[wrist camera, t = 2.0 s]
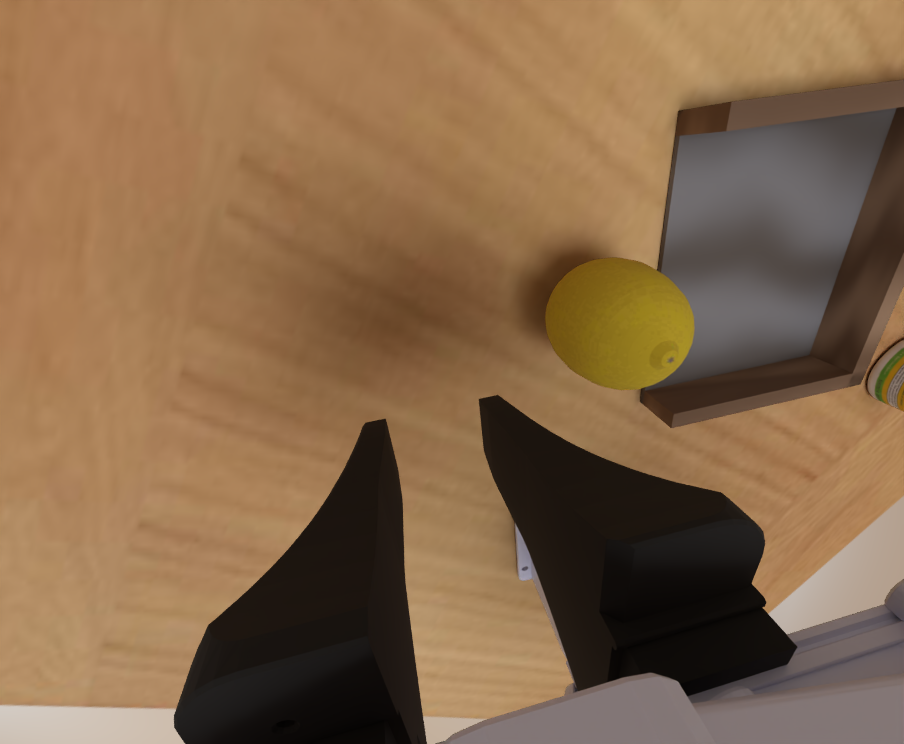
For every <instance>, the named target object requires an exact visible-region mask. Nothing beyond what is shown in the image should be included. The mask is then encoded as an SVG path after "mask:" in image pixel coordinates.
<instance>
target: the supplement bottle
mask: <svg viewBox="0 0 904 744" xmlns="http://www.w3.org/2000/svg"><path fill="white" fill-rule="evenodd" d="M868 391H869V393H870V394H871V396H872V397H874V398H875V399H877V400H880V401H882V402H884V403H886V404H888V405H890V406H892V407H895V408H897V409H899V410H901V411H904V340H902V341H900V342H899V343H897V344H896V345H895V346H893V347H892V348H891V349H889V350H888V351H887V352H886V353H885V354H884V355H883V356H882V357H881V358H880V359H879V361H878V362H877V363H876V364H875V366H874V367H873V369H872V371H871V373H870V375H869V378H868Z"/></svg>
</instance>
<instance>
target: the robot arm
mask: <svg viewBox="0 0 904 744" xmlns="http://www.w3.org/2000/svg"><path fill="white" fill-rule="evenodd" d="M479 406H480V416H481V426H482V436H483V446H484V452H485V455H486V458H487V461H488V464H489V467H490V470H491V473H492V476H493V478H494V481H495V483H496V485H497V487H498V489H499V491H500V493H501V495H502V497H503V499H504V501H505V503H506V505H507V507H508V509H509V511H510V513H511V515H512V517H513V519H514V522H515V536H516V553H517V570H518V576H519V579H520V580H522V581H525V580H529V579H533V581H534V584H535V586H536V589H537V591H538V593H539V596H540V598H541V601H542V603H543V606H544V608H545V610H546V613H547V615H548V618H549V620H550V623H551V625H552V628H553V630H554V632H555V635H556V637H557V640H558V642H559V645H560V647H561V649H562V651H563V653H564V655H565V657H566V658H567V661H566V664H567V667H568V669H569V672H570V674H571V677H572V679H573V681H574V683H572V684H570V685H568V686H567V687H566V690H565V696H562V697H559V698H555V699H552V700H549V701H546V702H542V703H539V704H536V705H533V706H530V707H526V708H523V709H520V710H517V711H513V712H510V713H507V714H504V715H500V716H497V717H494V718H491V719H487V720H484V721H482V722H479V723H477V724H475V725H473V726H470V727H468V728H466V729H463V730H461V731H459V732H457V733H455V734H453V735H452V736H450V737H449V738H448V739H447V740H446V741H443V742H440V743H436V744H904V579H903V580H902V581H900V582H899V583H897V584H896V585H895V586H894V587H893V588H892V589H891V590H890V592H889V593H888V595H887V597H886V599H885V604H884V605H880V606H877V607H874V608H871V609H868V610H865V611H862V612H858V613H855V614H852V615H848V616H845V617H842V618H839V619H835V620H832V621H829V622H826V623H823V624H819V625H816V626H813V627H810V628H807V629H803V630H800V631H797V632H794V633H791V634H788V635H787V634H786V633H785V632H784V631H783V630H782V629H781V628H780V627H779V626H778V625H777V623H776V622H775V621H774V620H773V619H772V618H771V617H770V616H769V615H768V613H767V612H766V611H765V610H764V609H763V608H762V607H765V604H766V601H765V598H764V597H763V596H762V595H761V593H760V592H759V591H758V590H757V589H756V588H755V587H754V586H753V585H752V584H751V583H752V580H753V578H754V575H755V573H756V570H757V568H758V565H759V563H760V560H761V558H762V555H763V551H764V546H765V539H764V533H763V531H762V530H761V528H760V527H759V526H758V525H757V524H756V523H755V522H754V521H753V520H752V519H751V518H750V517H749V516H748V515H746V514H745V513H744V512H743V511H742V510H741V509H740V508H739V507H738V506H737V505H735V504H734V503H733V502H732V501H731V500H730V499H729V498H727V497H726V496H725V495H724V494H723V493H721V492H716V491H712V490H708V489H703V488H699V487H694V486H690V485H685V484H681V483H676V482H673V481H669V480H666V479H662V478H659V477H655V476H652V475H648V474H645V473H642V472H639V471H636V470H633V469H630V468H627V467H625V466H622V465H619V464H617V463H614V462H611V461H609V460H606V459H604V458H601V457H599V456H597V455H595V454H592V453H590V452H588V451H586V450H584V449H582V448H580V447H578V446H576V445H574V444H572V443H570V442H568V441H566V440H564V439H563V438H561V437H559V436H557V435H556V434H554V433H552V432H550V431H549V430H547V429H546V428H544V427H542V426H541V425H539V424H538V423H536V422H535V421H533V420H532V419H530V418H529V417H527V416H526V415H525V414H523V413H522V412H520V411H519V410H518V409H516V408H515V407H514V406H512V405H511V404H509V403H508V402H507V401H505V400H504V399H503V398H501V397H500V396H498V395H496V396H491V397H487V398H482V399H479ZM174 728H175V729H176V731H177V732H178V734H179V735H180V737H181V738H182V740H183V741H184V743H185V744H427V742H426V735H425V728H424V721H423V714H422V706H421V699H420V692H419V685H418V677H417V670H416V662H415V655H414V647H413V640H412V632H411V624H410V616H409V608H408V600H407V592H406V584H405V569H404V534H403V502H402V493H401V486H400V479H399V472H398V467H397V463H396V459H395V455H394V451H393V447H392V442H391V438H390V434H389V430H388V426H387V422H386V419H382V420H377V421H372V422H367V423H365V424H364V426H363V427H362V430H361V433H360V435H359V438H358V440H357V443H356V445H355V447H354V449H353V452H352V454H351V456H350V458H349V460H348V462H347V464H346V466H345V468H344V470H343V472H342V474H341V475H340V477H339V479H338V481H337V482H336V484H335V486H334V487H333V489H332V491H331V493H330V494H329V496H328V497H327V499H326V500H325V502H324V504H323V505H322V506H321V508H320V509H319V511H318V512H317V514H316V515H315V516H314V518H313V519H312V521H311V522H310V523H309V525H308V526H307V527H306V528H305V530H304V531H303V532H302V533H301V535H300V536H299V537H298V538H297V539H296V541H295V542H294V543H293V544H292V545H291V547H290V548H289V549H288V550H287V551H286V552H285V553H284V555H283V556H282V557H281V558H280V559H279V560H278V561H277V562H276V563H275V564H274V565H273V566H272V567H271V568H270V569H269V570H268V571H267V572H266V573H265V574H264V575H263V576H262V577H261V578H260V579H259V580H258V581H257V582H256V583H255V584H254V585H253V586H252V587H251V588H250V589H249V590H248V591H247V592H246V593H244V594H243V595H242V596H241V597H240V598H239V599H238V600H237V601H235V602H234V603H233V604H232V605H231V606H230V607H229V608H228V609H226V610H225V611H224V612H223V613H222V614H221V615H220V616H219V617H217V618H216V619H215V620H214V621H213V622H211V623H210V624H209V625H208V627H207V629H206V632H205V634H204V636H203V638H202V641H201V643H200V645H199V647H198V649H197V652H196V654H195V657H194V660H193V662H192V665H191V668H190V671H189V674H188V676H187V679H186V682H185V685H184V688H183V691H182V694H181V697H180V700H179V703H178V706H177V709H176V712H175V714H174Z"/></svg>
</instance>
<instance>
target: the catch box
mask: <svg viewBox="0 0 904 744" xmlns="http://www.w3.org/2000/svg"><path fill="white" fill-rule="evenodd" d="M658 271H659V272H661V273H662V274H664V275H665V276H666V277H668V278H669V279H670V280H671V281H672V282H673V283H674V284H675V285H676V286H677V287H678V288H679V289H680V291H681V292H682V293H683V294H684V295H685V297H686V298H687V300H688V302H689V304H690V307H691V309H692V312H693V316H694V327H695V329H694V337H693V342H692V345H691V348H690V350H689V352H688V355H687V356H686V358H685V359H684V361H683V362H682V364H681V365H680V366H679V367H678V368H677V369H676V370H675V371H674V372H673V373H672V374H670V375H669V376H668V377H666V378H665V379H664V380H662V381H660V382H658V383H656V384H654V385H651V386H648V387H644V388H642V392H641V400H640V402H641V403H642V404H644V405H645V406H646V407H647V408H648V409H649V410H651V411H652V412H653V413H654V414H655V415H656V416H658V417H659V418H660V419H661V420H662V421H663V422H665V423H666V424H667V425H668V426H669V427H671V428H674V427H678V426H683V425H687V424H691V423H696V422H700V421H704V420H709V419H713V418H717V417H722V416H726V415H730V414H734V413H739V412H743V411H747V410H752V409H756V408H760V407H765V406H769V405H773V404H778V403H782V402H786V401H791V400H795V399H799V398H803V397H808V396H812V395H816V394H821V393H825V392H829V391H834V390H838V389H842V388H847V387H851V386H855V385H859V384H861V382H862V380H863V377H864V375H865V373H866V371H867V368H868V366H869V364H870V361H871V359H872V357H873V355H874V352H875V350H876V348H877V346H878V343H879V341H880V339H881V336H882V334H883V332H884V330H885V327H886V325H887V323H888V321H889V318H890V316H891V314H892V312H893V309H894V307H895V305H896V302H897V300H898V298H899V296H900V293H901V291H902V289H903V287H904V80H897V81H889V82H882V83H874V84H866V85H858V86H851V87H843V88H835V89H827V90H819V91H812V92H804V93H796V94H788V95H781V96H773V97H765V98H757V99H750V100H742V101H734V102H728V103H722V104H716V105H710V106H705V107H699V108H693V109H687V110H682V111H679V114H678V121H677V129H676V136H675V144H674V151H673V159H672V166H671V174H670V181H669V189H668V196H667V204H666V211H665V219H664V227H663V234H662V242H661V249H660V257H659V264H658Z"/></svg>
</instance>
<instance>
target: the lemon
mask: <svg viewBox="0 0 904 744" xmlns="http://www.w3.org/2000/svg"><path fill="white" fill-rule="evenodd" d="M545 323H546V330H547V335H548V338H549V340H550V342H551V344H552V347H553V349H554V351H555V352H556V354H557V355H558V356H559V357H560V358H561V360H562V361H563V362H564V363H565V364H566V365H567V366H568V367H569V368H570V369H571V370H572V371H574V372H575V373H577V374H578V375H580V376H582V377H584V378H585V379H587V380H589V381H591V382H593V383H595V384H597V385H600V386H603V387H608V388H612V389H617V390H634V389H641V388H644V387H648V386H651V385H654V384H656V383H658V382H660V381H662V380H664V379H665V378H666V377H668V376H669V375H670V374H672V373H673V372H674V371H675V370H676V369H677V368H678V367H679V366H680V365H681V364H682V362H683V361H684V359H685V358H686V356H687V355H688V352H689V350H690V348H691V345H692V342H693V337H694V329H695V327H694V316H693V312H692V309H691V307H690V304H689V302H688V300H687V298H686V297H685V295H684V294H683V293H682V292H681V291H680V289H679V288H678V287H677V286H676V285H675V284H674V283H673V282H672V281H671V280H670V279H669V278H668V277H666V276H665V275H664V274H662V273H661V272H659V271H657V270H655V269H653V268H652V267H650V266H648V265H646V264H644V263H642V262H638V261H634V260H628V259H622V258H604V259H596V260H592V261H589V262H587V263H584V264H582V265H579V266H577V267H576V268H574V269H573V270H571V271H570V272H569V273H567V274H566V275H565V276H564V277H563V278H562V279H561V280H560V281H559V282H558V283H557V285H556V287H555V288H554V290H553V291H552V293H551V295H550V298H549V301H548V304H547V307H546V315H545Z"/></svg>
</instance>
